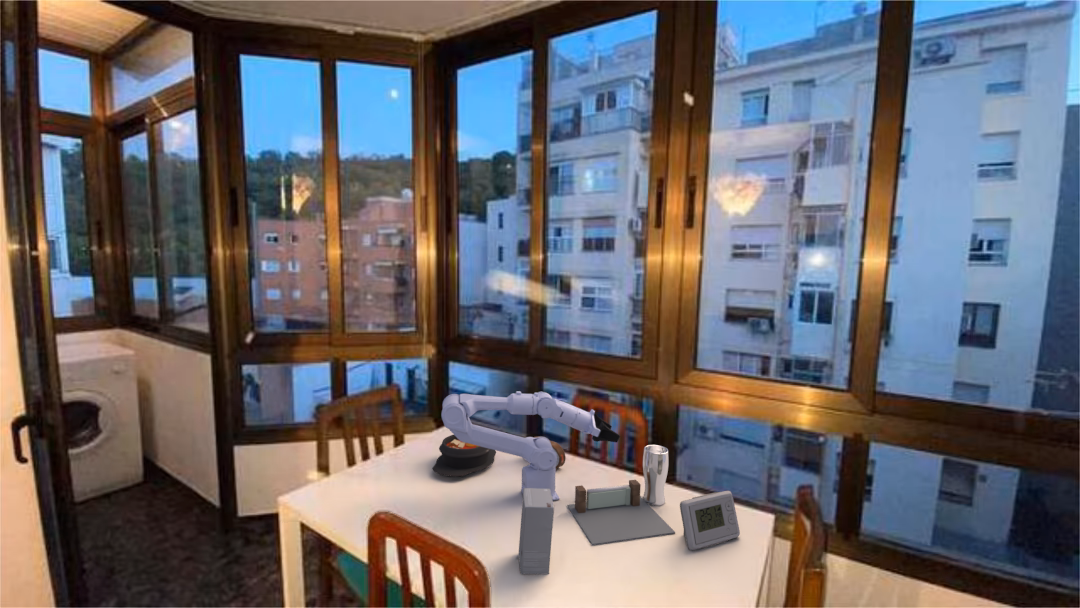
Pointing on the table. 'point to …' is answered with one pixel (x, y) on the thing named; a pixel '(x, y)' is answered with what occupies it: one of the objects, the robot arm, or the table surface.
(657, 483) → the silver metal tumbler
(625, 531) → the yard mat
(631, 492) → the gate posts
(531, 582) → the table surface
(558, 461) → the tin
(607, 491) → the gate
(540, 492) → the skincare box
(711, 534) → the digital clock
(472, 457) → the casserole
